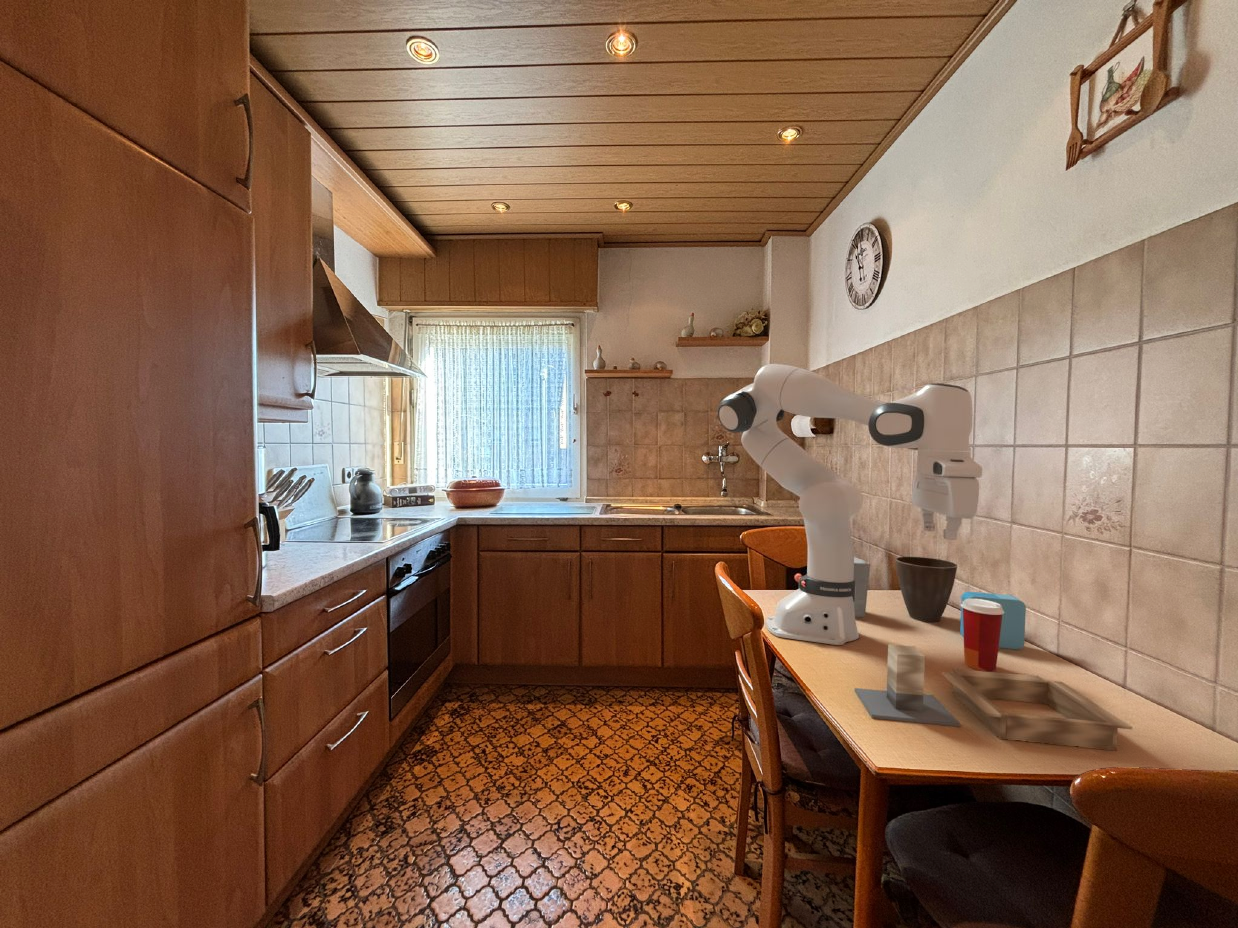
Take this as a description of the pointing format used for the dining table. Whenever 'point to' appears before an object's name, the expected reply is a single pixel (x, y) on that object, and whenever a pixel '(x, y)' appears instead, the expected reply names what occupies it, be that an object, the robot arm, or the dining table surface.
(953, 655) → the dining table surface
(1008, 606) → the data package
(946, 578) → the plant pot
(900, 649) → the box
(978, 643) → the paper cup
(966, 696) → the wooden frame
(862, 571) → the skincare box
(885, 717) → the rubber mat
